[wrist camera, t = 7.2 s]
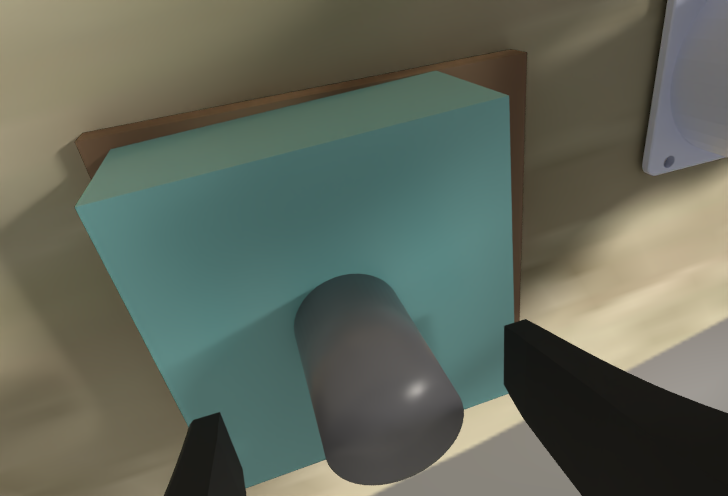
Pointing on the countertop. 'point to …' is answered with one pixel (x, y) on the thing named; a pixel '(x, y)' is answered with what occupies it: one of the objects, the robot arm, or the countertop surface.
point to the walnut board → (484, 70)
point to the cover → (322, 271)
